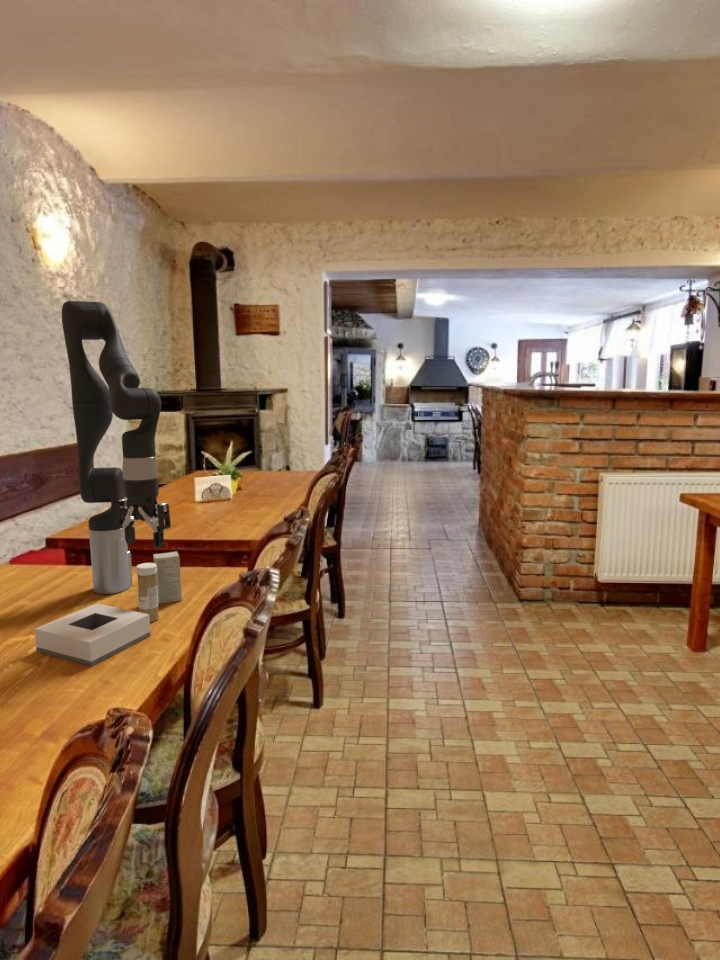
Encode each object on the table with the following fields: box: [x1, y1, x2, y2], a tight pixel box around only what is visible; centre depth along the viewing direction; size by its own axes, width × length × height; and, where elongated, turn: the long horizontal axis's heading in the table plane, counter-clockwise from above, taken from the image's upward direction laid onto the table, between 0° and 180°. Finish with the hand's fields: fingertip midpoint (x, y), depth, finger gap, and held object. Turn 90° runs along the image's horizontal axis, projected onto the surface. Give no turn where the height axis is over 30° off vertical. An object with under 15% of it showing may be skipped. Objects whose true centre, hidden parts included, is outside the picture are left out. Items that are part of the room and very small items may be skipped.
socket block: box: [34, 602, 151, 667], centre depth 130 cm, size 16×16×5 cm
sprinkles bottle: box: [135, 562, 160, 623], centre depth 142 cm, size 5×5×13 cm
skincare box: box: [152, 550, 183, 605], centre depth 155 cm, size 6×4×12 cm
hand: (144, 545), depth 140 cm, fingers open, 8 cm apart
